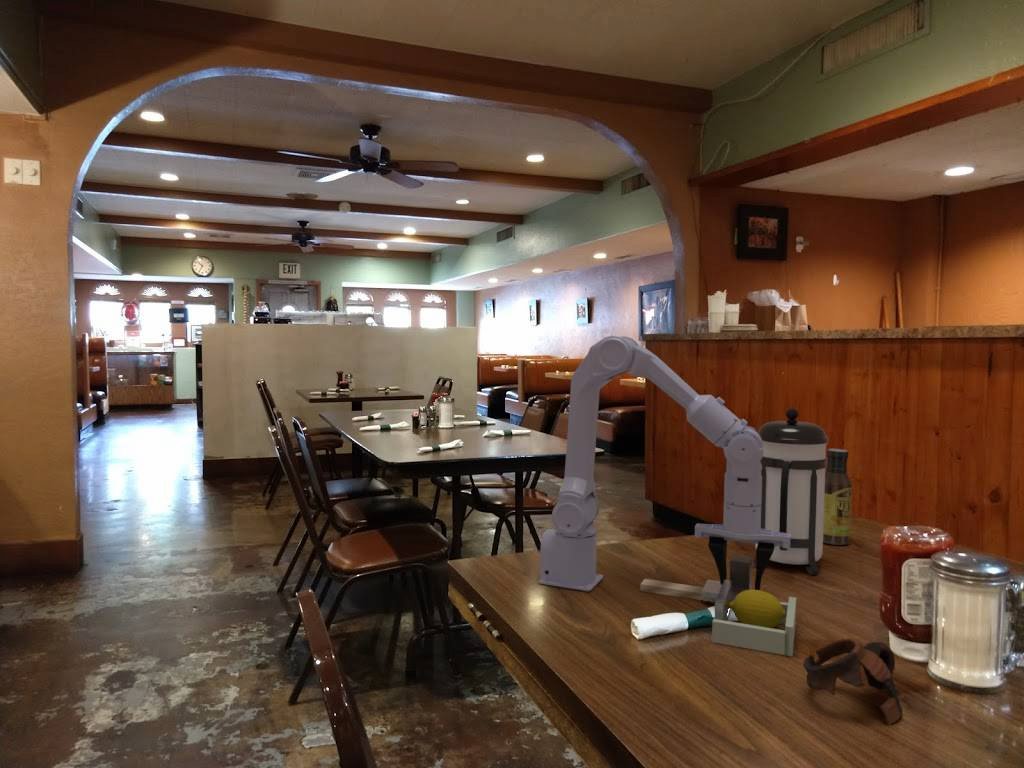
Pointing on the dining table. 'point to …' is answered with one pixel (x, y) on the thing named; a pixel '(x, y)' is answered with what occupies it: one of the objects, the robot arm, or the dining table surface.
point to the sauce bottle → (837, 499)
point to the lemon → (757, 608)
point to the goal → (759, 633)
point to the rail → (674, 590)
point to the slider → (729, 585)
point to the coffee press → (794, 488)
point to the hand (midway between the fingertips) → (740, 585)
